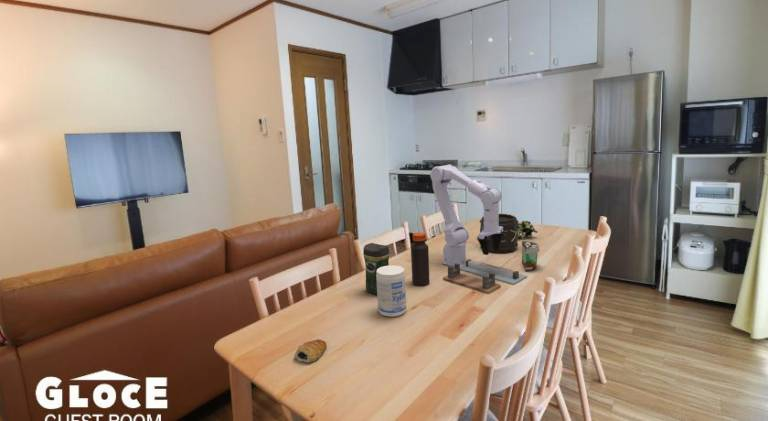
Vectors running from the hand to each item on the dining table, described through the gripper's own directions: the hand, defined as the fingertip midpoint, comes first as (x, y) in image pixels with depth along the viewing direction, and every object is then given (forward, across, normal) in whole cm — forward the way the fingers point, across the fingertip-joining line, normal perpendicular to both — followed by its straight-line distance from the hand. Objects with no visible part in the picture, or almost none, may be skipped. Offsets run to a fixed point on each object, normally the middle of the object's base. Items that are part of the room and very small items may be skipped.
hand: (491, 252), depth 157 cm
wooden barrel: (+9, +30, +15) cm, 35 cm away
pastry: (+10, -83, +4) cm, 84 cm away
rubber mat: (+9, 0, 0) cm, 9 cm away
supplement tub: (+9, -50, +6) cm, 51 cm away
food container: (+9, +16, -9) cm, 21 cm away
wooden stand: (+9, -14, 0) cm, 17 cm away
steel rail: (+8, 0, 0) cm, 8 cm away
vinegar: (+9, -26, +15) cm, 31 cm away
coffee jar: (+9, -42, +22) cm, 48 cm away
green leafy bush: (+9, +53, +15) cm, 56 cm away
